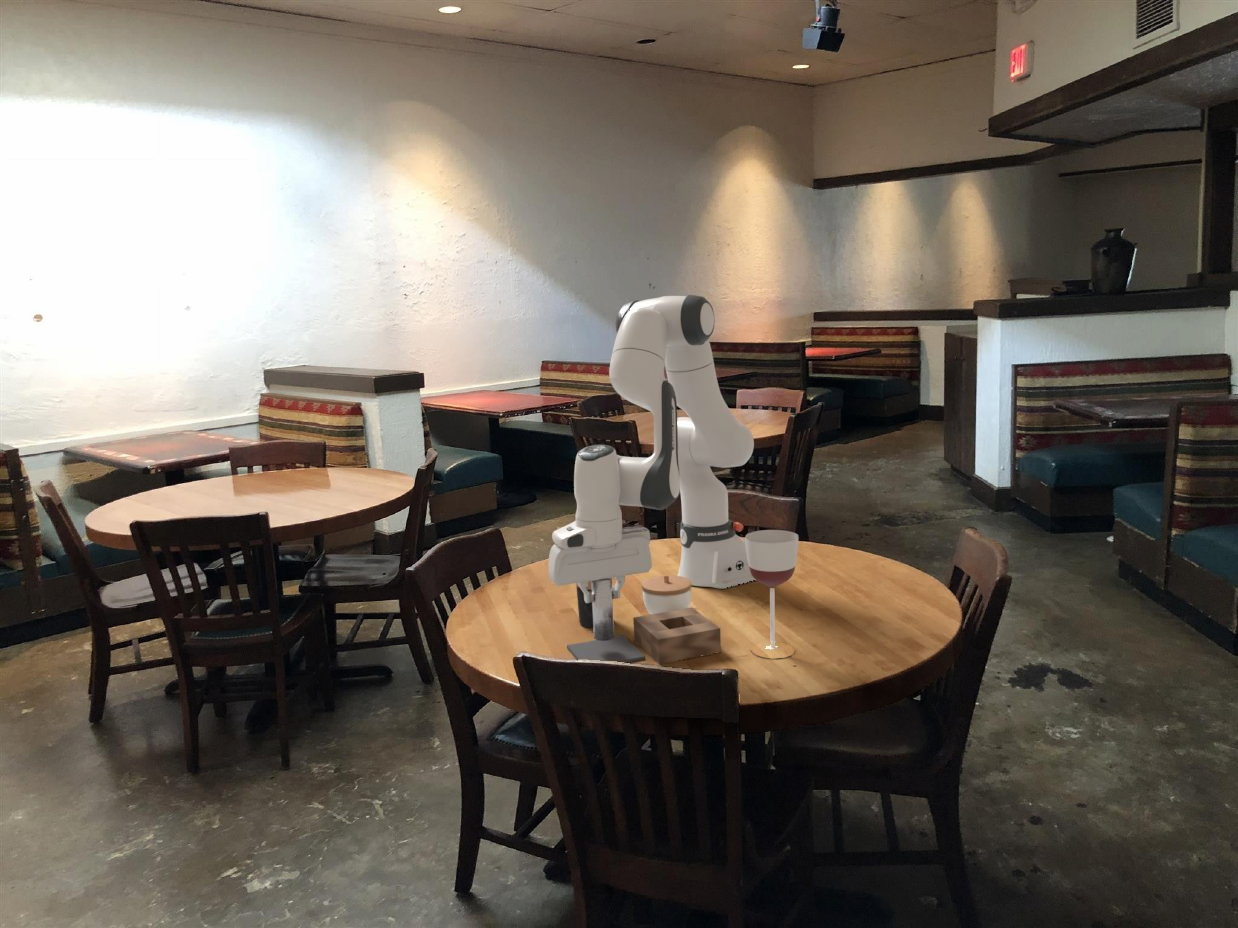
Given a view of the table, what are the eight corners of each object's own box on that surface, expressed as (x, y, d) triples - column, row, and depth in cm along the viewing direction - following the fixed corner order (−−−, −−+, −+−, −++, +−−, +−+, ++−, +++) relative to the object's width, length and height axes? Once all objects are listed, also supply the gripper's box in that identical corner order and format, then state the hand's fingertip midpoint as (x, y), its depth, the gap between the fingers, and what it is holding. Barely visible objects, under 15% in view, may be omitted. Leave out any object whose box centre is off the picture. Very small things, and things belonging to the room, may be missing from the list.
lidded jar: (654, 605, 209) (653, 565, 207) (699, 611, 204) (698, 570, 203) (634, 622, 200) (633, 580, 198) (681, 628, 195) (680, 585, 193)
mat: (622, 637, 191) (622, 635, 191) (645, 659, 180) (644, 656, 180) (566, 648, 187) (566, 645, 187) (586, 670, 176) (585, 667, 176)
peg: (610, 631, 185) (607, 573, 183) (617, 638, 182) (614, 579, 179) (591, 635, 184) (588, 576, 182) (597, 642, 180) (595, 582, 178)
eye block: (692, 630, 194) (691, 607, 193) (720, 652, 182) (720, 628, 181) (634, 640, 189) (633, 617, 188) (659, 664, 177) (658, 639, 176)
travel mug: (587, 631, 196) (583, 539, 192) (572, 620, 202) (567, 531, 198) (620, 623, 199) (616, 533, 195) (604, 613, 206) (599, 525, 202)
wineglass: (742, 643, 186) (740, 531, 181) (791, 639, 187) (791, 528, 182) (752, 661, 177) (751, 544, 172) (804, 657, 178) (804, 541, 173)
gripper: (643, 520, 185) (645, 587, 188) (544, 533, 178) (547, 602, 181) (655, 527, 179) (657, 596, 182) (553, 541, 172) (557, 612, 175)
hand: (602, 599), depth 181 cm, fingers closed on peg, 4 cm apart
